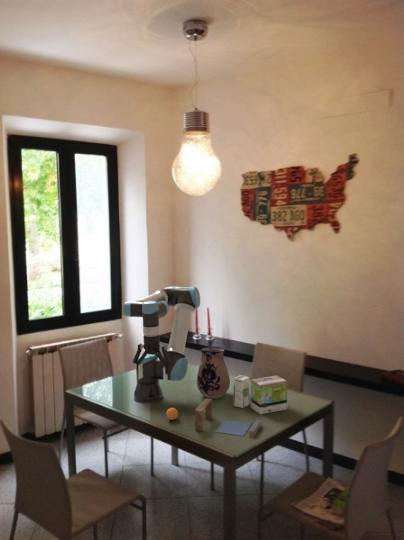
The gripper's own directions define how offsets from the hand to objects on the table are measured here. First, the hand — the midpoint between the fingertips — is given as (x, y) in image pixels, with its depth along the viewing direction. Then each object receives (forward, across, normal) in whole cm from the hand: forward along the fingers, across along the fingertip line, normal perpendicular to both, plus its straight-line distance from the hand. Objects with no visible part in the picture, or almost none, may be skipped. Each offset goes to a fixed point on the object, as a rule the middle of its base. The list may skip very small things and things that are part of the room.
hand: (153, 379), depth 230 cm
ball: (+16, +9, 0) cm, 18 cm away
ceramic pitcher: (+19, +18, +36) cm, 44 cm away
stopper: (+18, +49, 0) cm, 53 cm away
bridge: (+18, +25, 0) cm, 31 cm away
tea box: (+19, +50, +26) cm, 59 cm away
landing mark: (+18, +39, 0) cm, 43 cm away
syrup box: (+19, +36, +26) cm, 48 cm away
